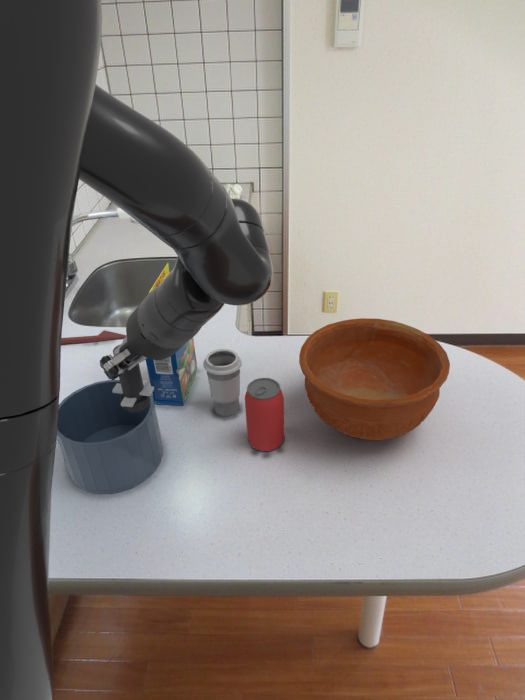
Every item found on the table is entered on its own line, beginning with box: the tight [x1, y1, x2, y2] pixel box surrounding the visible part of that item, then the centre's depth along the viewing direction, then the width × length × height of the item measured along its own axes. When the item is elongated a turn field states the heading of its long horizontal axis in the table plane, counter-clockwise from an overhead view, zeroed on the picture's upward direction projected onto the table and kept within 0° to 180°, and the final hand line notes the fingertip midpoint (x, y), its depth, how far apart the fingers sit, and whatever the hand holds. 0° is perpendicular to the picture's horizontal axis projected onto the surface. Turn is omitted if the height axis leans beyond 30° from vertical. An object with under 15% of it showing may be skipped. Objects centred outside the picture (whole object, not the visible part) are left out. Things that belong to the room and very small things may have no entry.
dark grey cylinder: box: [112, 343, 154, 412], centre depth 78 cm, size 6×6×10 cm
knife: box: [61, 329, 127, 345], centre depth 124 cm, size 29×2×5 cm
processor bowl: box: [56, 379, 164, 495], centre depth 89 cm, size 16×16×11 cm
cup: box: [202, 348, 243, 417], centre depth 98 cm, size 7×7×12 cm
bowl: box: [298, 317, 451, 441], centre depth 93 cm, size 25×25×15 cm
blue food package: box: [145, 262, 198, 406], centre depth 101 cm, size 6×12×25 cm, turn 173°
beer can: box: [244, 377, 285, 452], centre depth 91 cm, size 7×7×12 cm
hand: (119, 367), depth 78 cm, fingers closed on dark grey cylinder, 3 cm apart
